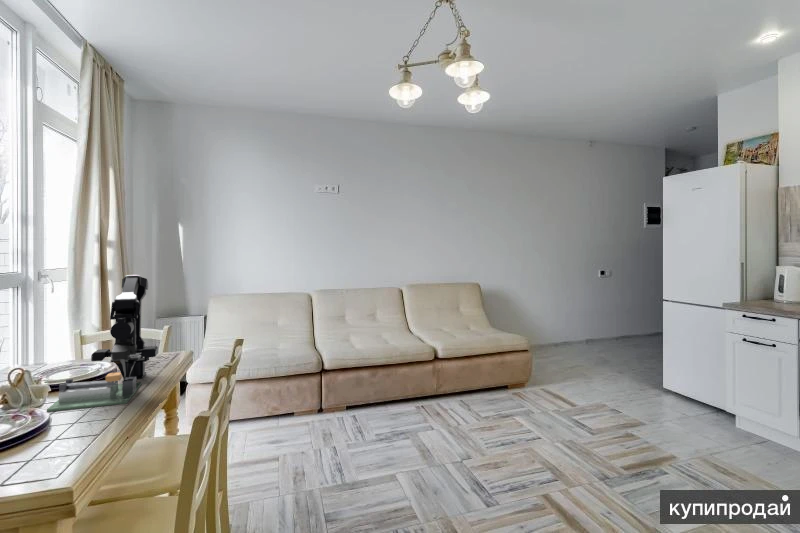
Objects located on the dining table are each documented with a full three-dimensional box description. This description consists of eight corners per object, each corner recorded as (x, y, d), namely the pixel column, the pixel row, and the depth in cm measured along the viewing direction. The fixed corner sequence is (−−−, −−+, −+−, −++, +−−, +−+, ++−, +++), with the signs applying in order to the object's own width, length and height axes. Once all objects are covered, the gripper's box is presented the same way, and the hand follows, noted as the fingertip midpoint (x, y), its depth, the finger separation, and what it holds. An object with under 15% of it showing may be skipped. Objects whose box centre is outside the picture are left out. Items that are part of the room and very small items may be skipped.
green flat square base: (141, 384, 149) (141, 368, 148) (126, 403, 130) (126, 385, 130) (72, 390, 141) (72, 373, 141) (46, 411, 122) (46, 392, 122)
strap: (62, 389, 130) (62, 386, 130) (66, 385, 133) (66, 382, 133) (114, 385, 135) (114, 382, 135) (117, 381, 139) (117, 379, 139)
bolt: (122, 377, 140) (122, 372, 139) (119, 380, 136) (119, 375, 136) (109, 378, 138) (109, 373, 138) (105, 381, 134) (105, 376, 134)
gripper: (84, 340, 127) (85, 387, 127) (151, 336, 134) (152, 381, 134) (96, 333, 137) (97, 377, 138) (158, 330, 144) (158, 372, 145)
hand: (126, 377), depth 138 cm, fingers closed
